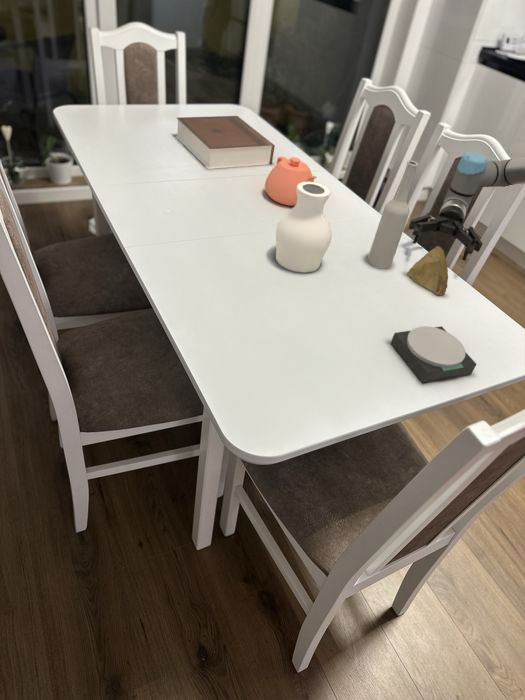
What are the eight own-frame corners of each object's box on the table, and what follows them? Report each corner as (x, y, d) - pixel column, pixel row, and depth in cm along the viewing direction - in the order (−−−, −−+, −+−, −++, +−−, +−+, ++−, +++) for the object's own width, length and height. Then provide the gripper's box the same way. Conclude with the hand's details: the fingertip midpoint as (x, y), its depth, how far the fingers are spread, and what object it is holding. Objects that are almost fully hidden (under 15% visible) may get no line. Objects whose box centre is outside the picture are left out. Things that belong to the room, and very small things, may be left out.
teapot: (328, 213, 166) (338, 174, 158) (284, 217, 159) (292, 177, 151) (293, 181, 180) (301, 144, 172) (252, 184, 173) (257, 146, 165)
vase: (333, 260, 145) (352, 190, 132) (308, 281, 135) (326, 208, 122) (288, 240, 149) (302, 170, 136) (260, 259, 140) (273, 186, 127)
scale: (472, 375, 117) (479, 361, 114) (423, 384, 112) (429, 370, 109) (437, 336, 126) (443, 322, 123) (390, 342, 121) (395, 329, 118)
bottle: (363, 255, 149) (394, 156, 131) (384, 255, 151) (418, 157, 133) (373, 269, 144) (407, 167, 126) (395, 268, 146) (431, 169, 128)
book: (235, 133, 205) (237, 115, 201) (271, 164, 188) (274, 145, 184) (175, 136, 194) (176, 117, 190) (208, 168, 177) (210, 149, 173)
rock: (459, 291, 138) (448, 265, 144) (451, 269, 132) (441, 243, 139) (418, 306, 142) (409, 280, 148) (408, 285, 136) (400, 259, 142)
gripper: (487, 242, 159) (481, 274, 144) (406, 215, 164) (391, 244, 149) (498, 219, 154) (493, 250, 139) (414, 192, 160) (400, 220, 144)
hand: (440, 247), depth 144 cm, fingers open, 13 cm apart
